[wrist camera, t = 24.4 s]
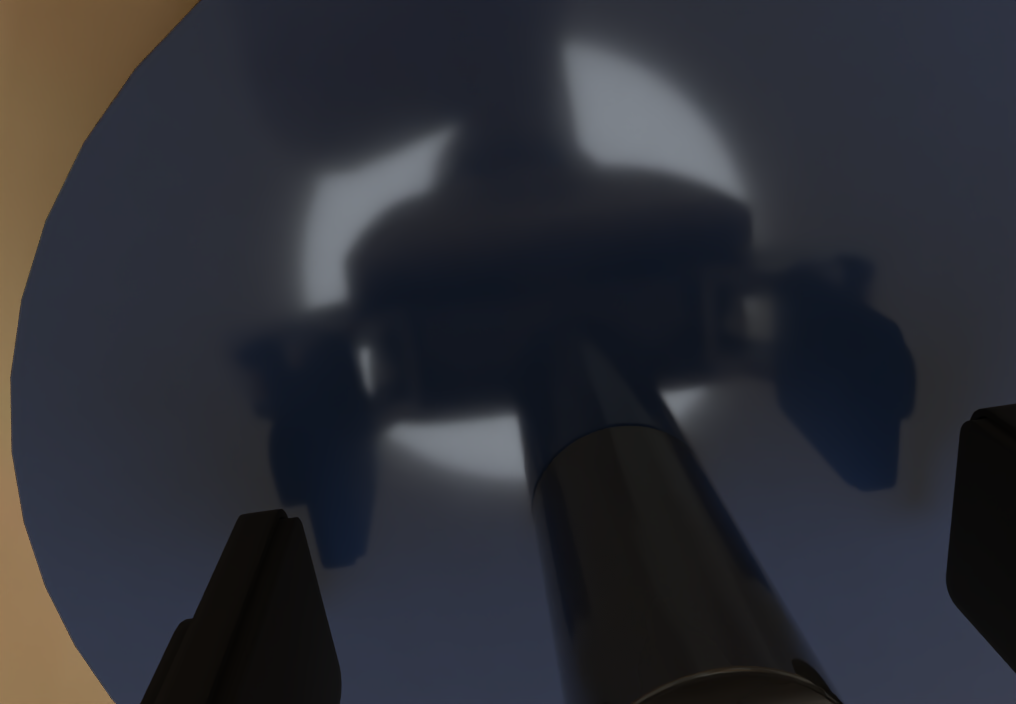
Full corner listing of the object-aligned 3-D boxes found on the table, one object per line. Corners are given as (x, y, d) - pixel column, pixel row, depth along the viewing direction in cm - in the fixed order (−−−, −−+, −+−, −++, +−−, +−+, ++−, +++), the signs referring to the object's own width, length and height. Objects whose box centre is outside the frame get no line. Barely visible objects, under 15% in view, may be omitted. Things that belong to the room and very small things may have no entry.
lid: (1240, -236, 10) (2250, -596, 4) (1058, 774, 17) (1373, 1154, 11) (-154, -53, 10) (-975, -183, 4) (216, 900, 17) (90, 1355, 11)
